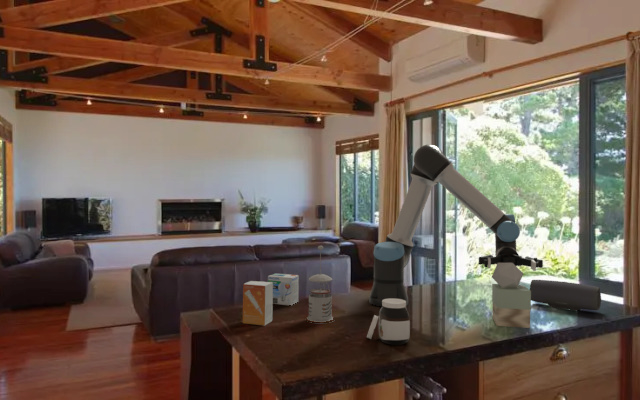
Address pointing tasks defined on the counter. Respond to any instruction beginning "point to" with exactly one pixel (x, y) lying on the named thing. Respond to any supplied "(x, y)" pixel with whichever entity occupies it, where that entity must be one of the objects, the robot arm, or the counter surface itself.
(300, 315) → the counter surface
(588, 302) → the bluetooth speaker
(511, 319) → the tower base
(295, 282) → the light bulb box
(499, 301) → the tower top
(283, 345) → the counter surface
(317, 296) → the french press
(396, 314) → the spread jar
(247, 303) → the small box
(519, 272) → the die
